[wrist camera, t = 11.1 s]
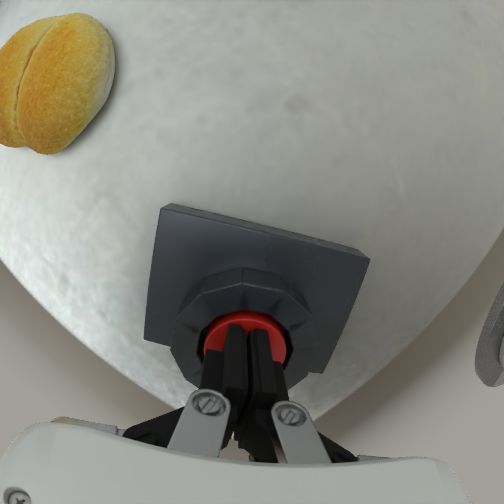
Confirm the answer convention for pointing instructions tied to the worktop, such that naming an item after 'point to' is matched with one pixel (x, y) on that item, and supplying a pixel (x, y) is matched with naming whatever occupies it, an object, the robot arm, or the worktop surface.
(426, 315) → the worktop surface
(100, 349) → the worktop surface
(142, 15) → the worktop surface
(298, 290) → the button block
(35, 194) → the worktop surface
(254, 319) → the button
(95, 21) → the bread roll
